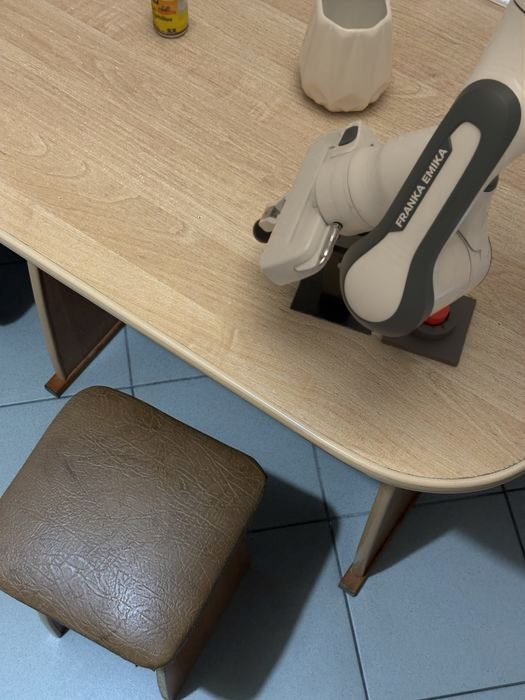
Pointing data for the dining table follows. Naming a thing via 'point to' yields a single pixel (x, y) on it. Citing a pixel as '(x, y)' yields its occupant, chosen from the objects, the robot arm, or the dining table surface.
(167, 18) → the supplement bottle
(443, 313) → the button
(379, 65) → the vase
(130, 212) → the dining table surface
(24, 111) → the dining table surface
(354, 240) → the switch lever
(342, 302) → the switch bracket
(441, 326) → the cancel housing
